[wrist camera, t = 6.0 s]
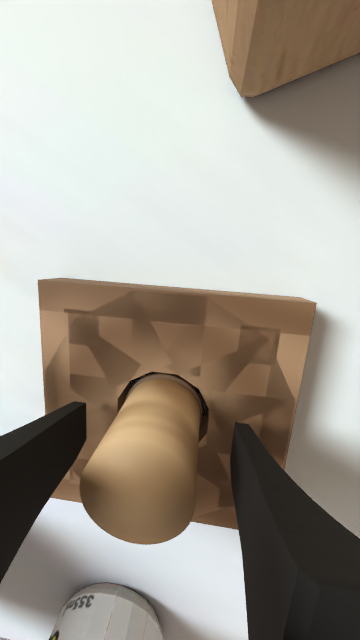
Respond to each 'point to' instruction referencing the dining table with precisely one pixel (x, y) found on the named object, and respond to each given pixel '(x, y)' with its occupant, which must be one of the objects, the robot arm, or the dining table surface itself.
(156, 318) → the board
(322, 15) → the wooden block
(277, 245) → the dining table surface
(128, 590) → the beverage can
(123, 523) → the peg
